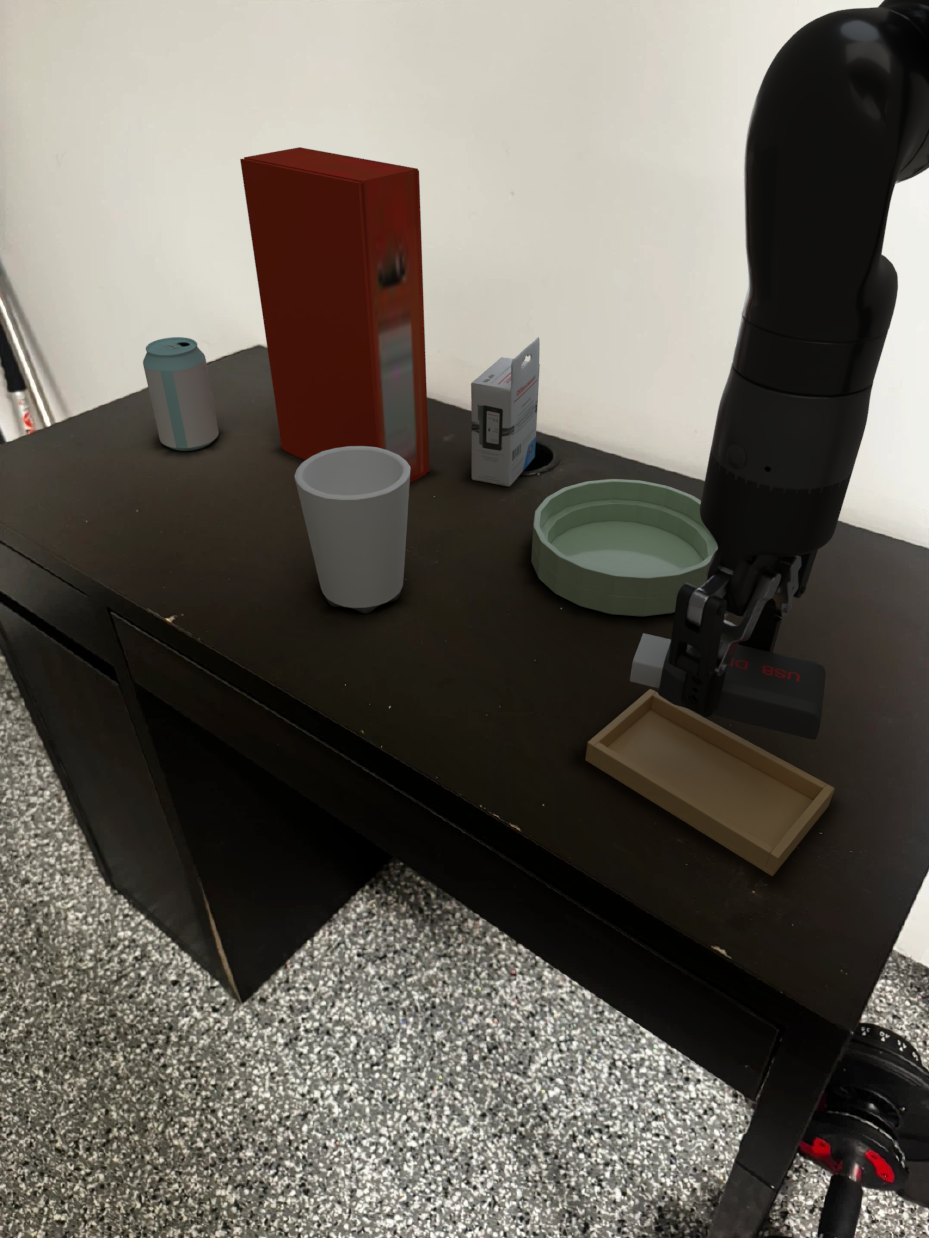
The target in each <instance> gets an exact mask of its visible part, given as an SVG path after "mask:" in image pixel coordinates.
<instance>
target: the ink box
mask: <svg viewBox="0 0 929 1238" xmlns="http://www.w3.org/2000/svg"><path fill="white" fill-rule="evenodd" d="M540 345H541V344H540V337H539V336H537V337H536V338H535V339H534V340H533V341H532V342H531V343H529V344H528V345H527V346H526V347H525V348H524V349H523V350H522V351H521V352H520V353H519V354H517V355H516V356H515V357H514V358H510V357H499V359H498V360H496V361H495V362H494V363H493V364H492V365H490V366H489V367H488V368H487V369H485V371H484V372H482V373H481V374H480V375H479V376H478V377H476V378H475V379H474V380H473V381H471V383H470V398H471V399H470V401H471V402H470V404H471V405H470V407H471V409H470V410H471V412H470V413H471V417H470V418H471V422H470V423H471V426H470V427H471V428H470V429H471V431H470V432H471V433H470V434H471V443H470V445H471V446H470V448H471V451H470V452H471V479H472V480H473V481H478V482H482V483H488V484H493V485H498V486H503V487H507V488H508V487H511V486H512V485H513V484H514V482H515V481H516V480H517V479H518V478H519V477H520V475H521V474H522V473H523V472H524V471H525V470H526V469H527V467H529V465H530V464H531V463H532V461H533V460H534V459H535V457H536V446H537V445H536V444H537V443H536V442H537V425H538V423H537V422H538V407H539V406H538V405H539V404H538V403H539V386H540V368H541V367H540V366H541V365H540V350H541V349H540ZM526 357H527V358H528V357H529V360H528V361H526Z"/></svg>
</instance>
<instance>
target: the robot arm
mask: <svg viewBox="0 0 929 1238" xmlns="http://www.w3.org/2000/svg"><path fill="white" fill-rule="evenodd" d="M928 169H929V0H883V1H882V2H881V3H880V4H879V5H878V6H876V7H856V8H855V7H854V8H846V9H840V10H835V11H831V12H829V13H826V14H824V15H821V16H819V17H817V18H815V19H812V20H810V21H809V22H808V23H806V24H804V25H803V26H802V27H801V28H799V29H798V30H797V31H796V32H794V33H793V34H792V35H791V36H790V38H789V39H788V40H786V42H785V43H784V44H783V45H782V46H781V48H780V49H779V50H778V52H777V53H776V54H775V56H774V58H773V59H772V61H771V63H770V64H769V66H768V68H767V70H766V72H765V74H764V75H763V78H762V81H761V83H760V86H759V88H758V91H757V93H756V96H755V99H754V102H753V105H752V108H751V112H750V116H749V120H748V125H747V130H746V137H745V143H744V154H743V207H744V208H743V212H744V213H743V214H744V215H743V216H744V245H745V256H746V257H745V258H746V267H747V289H746V292H745V295H744V299H743V304H742V308H741V312H740V319H739V323H738V328H737V334H736V339H735V345H734V349H733V354H732V362H731V365H730V369H729V373H728V375H727V376H728V377H727V380H726V382H725V385H724V387H723V391H722V394H721V397H720V400H719V404H718V409H717V414H716V419H715V425H714V429H713V436H712V441H711V446H710V451H709V457H708V462H707V467H706V472H705V478H704V483H703V489H702V494H701V498H700V500H701V504H700V517H701V520H702V522H703V524H704V525H705V527H706V528H707V529H708V530H709V532H710V533H711V535H712V536H713V538H714V539H715V541H716V543H717V546H718V549H717V550H716V551H715V553H714V554H713V556H712V558H711V560H710V563H709V565H708V567H707V570H706V575H707V580H706V582H705V583H704V584H703V585H702V586H701V587H700V588H698V587H695V586H693V585H691V584H689V583H685V584H684V585H683V586H682V587H681V588H680V590H679V592H678V595H677V600H676V607H675V612H674V615H673V623H672V631H671V646H670V654H669V664H671V665H673V666H675V667H677V668H678V669H680V670H682V671H684V672H686V677H685V682H684V687H683V691H682V696H681V701H682V703H683V704H684V705H685V706H686V707H688V708H689V710H691V711H693V712H695V713H696V714H698V715H700V716H702V717H704V718H709V717H712V714H713V713H714V712H715V711H716V710H717V708H718V704H719V700H720V696H721V691H722V687H723V683H724V679H725V675H726V670H727V668H728V664H729V662H730V660H731V658H732V655H733V653H734V651H735V649H736V646H737V645H742V646H746V647H750V648H755V649H759V650H764V651H768V652H773V653H774V650H775V646H776V643H777V638H778V635H779V631H780V628H781V625H782V621H783V619H784V618H786V616H787V615H788V614H789V613H790V612H791V610H792V604H793V599H792V598H796V599H800V598H801V597H802V596H803V595H804V594H805V592H806V590H807V584H808V582H809V579H810V575H811V574H812V573H811V572H812V569H813V566H814V563H815V560H816V557H817V554H818V551H819V550H820V549H821V548H823V547H824V546H826V545H827V544H828V543H830V541H831V539H832V538H833V536H834V535H835V532H836V530H837V529H836V528H837V525H838V522H839V518H840V515H841V511H842V508H843V505H844V501H845V498H846V495H847V491H848V488H849V485H850V481H851V478H852V474H853V471H854V469H855V464H856V461H857V458H858V455H859V451H860V448H861V445H862V441H863V437H864V434H865V431H866V426H867V422H868V417H869V411H870V402H871V396H872V390H873V387H874V382H875V381H874V380H875V377H876V374H877V371H878V368H879V363H880V361H881V357H882V354H883V350H884V347H885V343H886V340H887V336H888V333H889V330H890V327H891V323H892V319H893V316H894V312H895V308H896V304H897V300H898V299H897V298H898V291H899V279H898V278H899V276H898V272H897V270H896V268H895V266H894V264H893V263H892V261H890V260H889V258H888V257H886V256H885V255H884V254H883V248H884V242H885V235H886V229H887V223H888V218H889V211H890V207H891V201H892V197H893V193H894V190H895V186H896V184H899V183H902V182H905V181H908V180H911V179H912V178H914V177H916V176H919V175H920V174H922V173H923V172H925V171H927V170H928ZM729 613H731V614H733V615H735V616H737V617H742V618H741V620H740V622H739V623H738V624H735V623H733V622H731V621H729V620H727V619H728V616H729ZM722 637H723V640H722ZM721 640H722V641H723V644H722V646H721V648H720V650H719V645H720V641H721ZM718 650H719V653H718ZM688 708H687V709H688Z"/></svg>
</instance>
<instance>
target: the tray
mask: <svg viewBox="0 0 929 1238" xmlns="http://www.w3.org/2000/svg"><path fill="white" fill-rule="evenodd" d="M584 760H585V761H586V762H587V763H589V764H591V765H592V766H594V767H595V768H597V769H598V770H600V771H602V772H604V773H605V774H607V775H608V776H610V777H611V778H613V779H614V780H617V781H618V782H620V783H621V784H623V785H625V786H626V787H628V788H629V789H631V790H633V791H634V792H636V793H637V794H638V795H641V796H642V797H644V798H645V799H647V800H648V801H650V802H652V803H654V804H655V805H656V806H658V807H660V808H662V809H663V810H665V811H666V812H668V813H669V814H671V815H673V816H674V817H676V818H677V819H679V820H681V821H683V823H686V824H687V825H689V826H690V827H692V828H694V829H695V830H697V831H698V832H700V833H702V834H703V835H705V836H706V837H708V838H710V839H711V840H713V841H714V842H716V843H717V844H719V845H721V846H722V847H724V848H726V849H727V850H729V851H731V852H732V853H734V854H736V855H737V856H738V857H740V858H741V859H743V860H745V861H747V862H748V863H750V864H751V865H753V866H755V867H756V868H758V869H759V870H761V871H763V872H765V873H766V874H767V875H769V876H771V877H773V876H774V875H775V874H776V873H777V872H778V870H779V869H780V868H781V867H782V866H783V864H784V863H785V862H786V860H787V859H788V858H789V857H790V855H791V854H792V853H793V852H794V851H795V849H796V848H797V847H798V845H800V843H801V841H802V840H804V838H805V836H806V835H807V834H808V833H809V832H810V830H811V829H812V828H813V826H814V825H816V823H817V822H818V821H819V819H820V818H821V816H822V815H823V814H824V813H825V811H826V810H827V809H828V808H829V806H830V803H831V800H832V798H833V795H834V792H835V788H836V787H834V786H832V785H830V784H828V783H826V782H824V781H822V780H821V779H819V778H817V777H815V776H813V775H811V774H809V773H807V772H806V771H804V770H802V769H800V768H798V767H797V766H795V765H793V764H791V763H789V762H787V761H785V760H784V759H782V758H781V757H778V756H776V755H774V754H772V753H771V752H769V751H767V750H765V749H763V748H762V747H759V746H757V745H756V744H754V743H752V742H750V741H748V740H747V739H745V738H743V737H742V736H739V735H737V734H735V733H733V732H731V731H730V730H728V729H726V728H724V727H722V726H721V725H719V724H717V723H716V722H713V721H712V720H709V719H708V718H707V717H704V716H702V715H701V714H699V713H697V712H695V711H693V710H691V709H688V708H684V707H680V706H677V705H674V704H672V703H671V702H669V701H667V700H666V699H664V698H663V697H661V696H660V695H659V694H658V691H656V690H654V689H652V688H650V689H648V690H647V691H646V692H644V693H643V694H642V695H641V696H640V697H638V698H637V700H635V701H633V703H631V704H630V705H629V706H628V707H627V708H626V709H624V710H623V711H622V712H621V713H620V714H619V715H618V716H617V717H615V718H614V719H613V720H612V721H611V722H609V723H608V724H607V725H606V726H604V728H602V729H601V730H600V731H599V732H598V733H596V735H594V736H593V737H592V738H591V739H589V740H588V741H587V744H586V752H585V759H584Z"/></svg>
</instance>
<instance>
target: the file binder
mask: <svg viewBox="0 0 929 1238" xmlns="http://www.w3.org/2000/svg"><path fill="white" fill-rule="evenodd" d="M239 160H240V168H241V174H242V183H243V189H244V194H245V195H244V196H245V203H246V211H247V217H248V224H249V229H250V237H251V244H252V251H253V258H254V265H255V266H254V267H255V271H256V272H255V273H256V280H257V285H258V286H257V287H258V293H259V299H260V306H261V307H260V308H261V313H262V320H263V321H262V322H263V327H264V334H265V341H266V348H267V355H268V356H267V357H268V362H269V368H270V369H269V370H270V377H271V383H272V391H273V396H274V397H273V398H274V404H275V411H276V418H277V424H278V425H277V426H278V430H279V431H278V432H279V438H280V444H281V449H282V450H283V451H284V452H286V453H287V454H290V455H292V456H294V457H296V458H298V459H300V460H303V461H305V460H307V459H308V458H310V457H311V456H313V455H316V454H318V453H320V452H322V451H326V450H330V449H334V448H341V447H348V446H368V447H377V448H381V449H385V450H388V451H391V452H393V453H395V454H397V455H399V456H401V457H402V458H403V459H405V460H406V461H407V463H408V464H409V466H410V467H411V468H410V483H412V482H414V481H417V480H419V479H420V478H422V477H423V476H426V475H427V473H429V472H430V451H429V449H430V447H429V423H428V422H429V419H428V416H429V415H428V389H427V362H426V361H427V359H426V332H425V331H426V330H425V303H424V301H425V300H424V273H423V271H424V270H423V246H422V245H423V244H422V243H423V242H422V241H423V240H422V215H421V214H422V213H421V185H420V170H419V168H417V167H412V166H406V165H401V164H394V163H389V162H385V161H379V160H372V159H366V158H361V157H356V156H351V155H345V154H340V153H333V152H328V151H323V150H316V149H311V148H306V147H293V148H288V149H282V150H276V151H271V152H270V151H269V152H266V153H265V152H264V153H260V154H253V155H249V156H244V157H243V158H240V159H239Z"/></svg>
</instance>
